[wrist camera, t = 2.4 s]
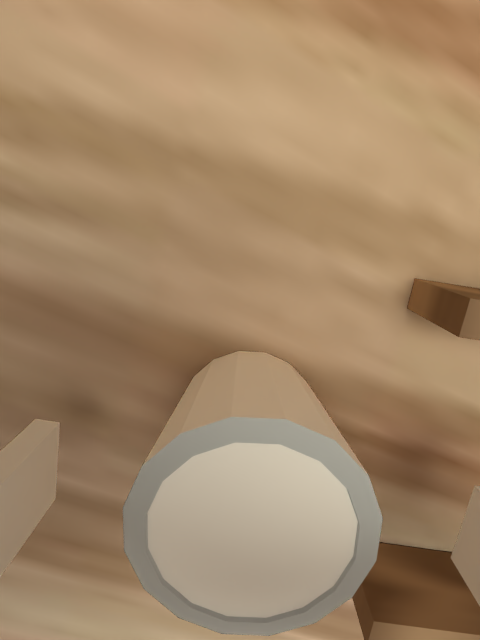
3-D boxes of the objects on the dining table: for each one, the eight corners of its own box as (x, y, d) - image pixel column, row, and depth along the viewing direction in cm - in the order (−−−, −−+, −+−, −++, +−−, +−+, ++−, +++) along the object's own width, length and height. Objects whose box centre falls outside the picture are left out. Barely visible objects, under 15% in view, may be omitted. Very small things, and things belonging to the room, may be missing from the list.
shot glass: (230, 302, 16) (221, 364, 9) (362, 397, 17) (440, 515, 10) (136, 428, 18) (70, 560, 11) (263, 509, 19) (276, 678, 12)
